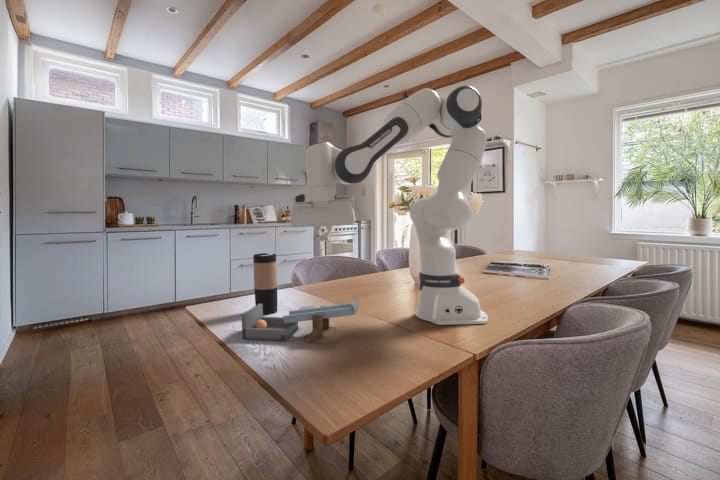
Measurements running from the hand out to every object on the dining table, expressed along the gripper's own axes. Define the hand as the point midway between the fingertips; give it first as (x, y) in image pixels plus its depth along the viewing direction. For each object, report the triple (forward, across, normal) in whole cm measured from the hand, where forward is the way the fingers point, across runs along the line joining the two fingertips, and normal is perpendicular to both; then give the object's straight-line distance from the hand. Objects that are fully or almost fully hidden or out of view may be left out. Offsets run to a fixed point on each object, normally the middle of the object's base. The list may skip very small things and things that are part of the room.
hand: (324, 240), depth 109 cm
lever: (+20, -2, +11) cm, 23 cm away
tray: (+25, +13, +14) cm, 31 cm away
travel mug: (+25, +23, -6) cm, 35 cm away
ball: (+22, +16, +14) cm, 31 cm away
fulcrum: (+25, -1, +15) cm, 29 cm away
